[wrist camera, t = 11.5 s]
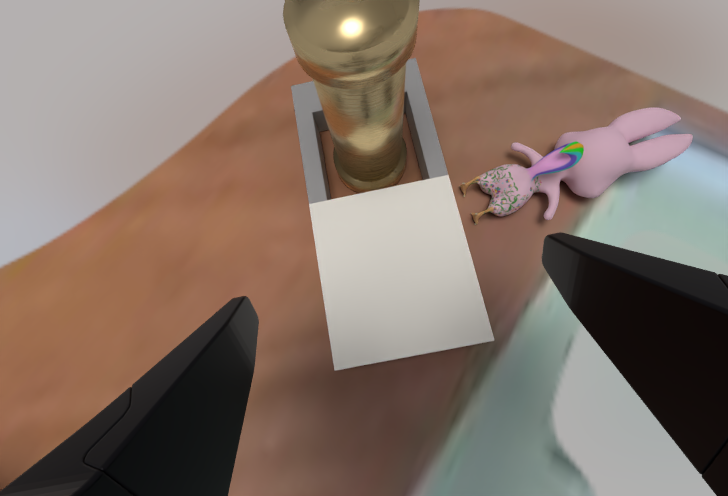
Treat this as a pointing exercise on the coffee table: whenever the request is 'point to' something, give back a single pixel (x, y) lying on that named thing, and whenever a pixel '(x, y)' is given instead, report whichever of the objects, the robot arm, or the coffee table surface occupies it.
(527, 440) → the coffee table surface
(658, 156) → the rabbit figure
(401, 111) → the brass fitting
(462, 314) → the grey holder base
